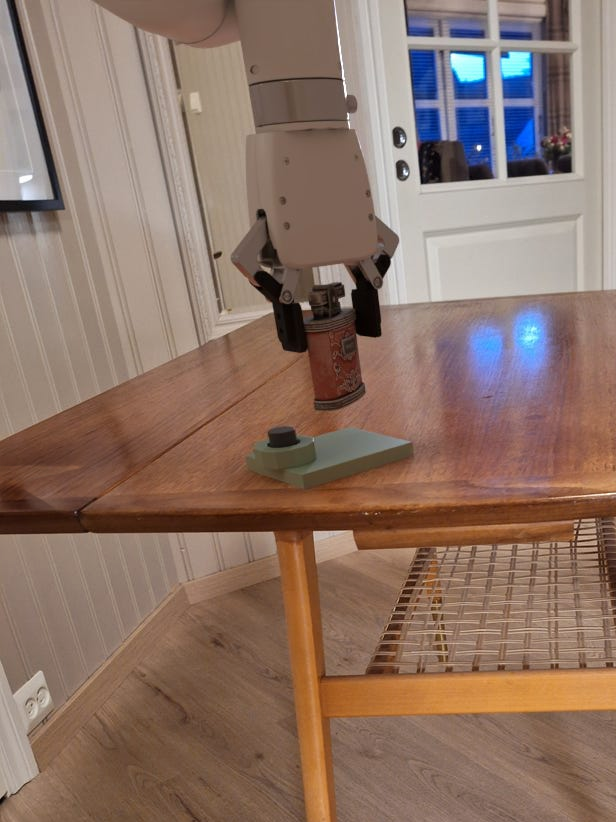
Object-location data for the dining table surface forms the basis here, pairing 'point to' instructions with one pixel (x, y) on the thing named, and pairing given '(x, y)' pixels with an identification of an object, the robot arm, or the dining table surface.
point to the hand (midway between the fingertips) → (333, 342)
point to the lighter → (333, 349)
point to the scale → (327, 456)
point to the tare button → (282, 437)
